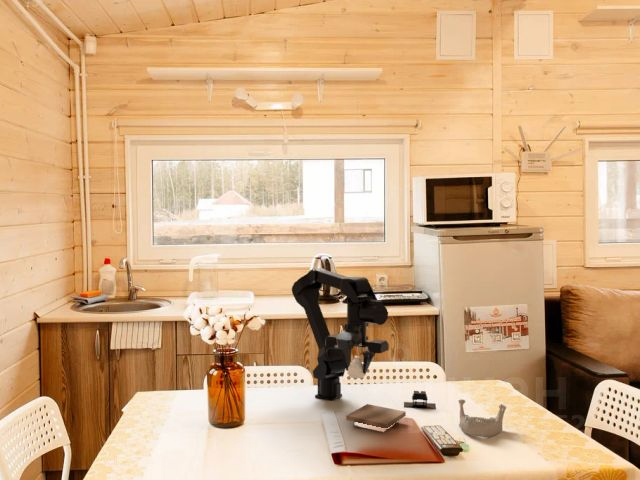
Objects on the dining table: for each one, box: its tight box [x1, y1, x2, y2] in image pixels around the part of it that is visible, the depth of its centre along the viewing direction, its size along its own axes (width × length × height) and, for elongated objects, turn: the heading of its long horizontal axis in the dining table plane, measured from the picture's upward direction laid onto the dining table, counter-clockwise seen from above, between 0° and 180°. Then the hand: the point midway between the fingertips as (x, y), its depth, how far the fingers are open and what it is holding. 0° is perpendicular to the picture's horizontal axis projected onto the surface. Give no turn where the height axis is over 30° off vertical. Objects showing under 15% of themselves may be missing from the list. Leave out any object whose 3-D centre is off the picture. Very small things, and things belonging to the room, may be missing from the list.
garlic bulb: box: [347, 355, 367, 379], centre depth 183 cm, size 6×6×5 cm
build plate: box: [403, 390, 437, 410], centre depth 185 cm, size 12×7×5 cm, turn 81°
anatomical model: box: [458, 398, 507, 438], centre depth 164 cm, size 13×11×10 cm
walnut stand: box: [345, 403, 407, 428], centre depth 168 cm, size 12×12×3 cm
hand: (356, 372), depth 183 cm, fingers closed on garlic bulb, 5 cm apart
